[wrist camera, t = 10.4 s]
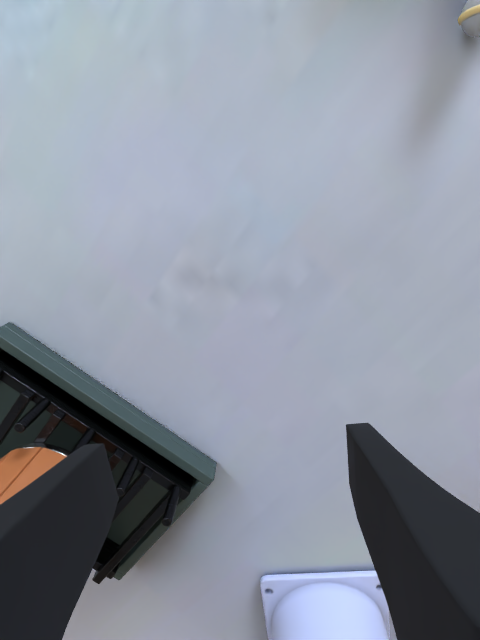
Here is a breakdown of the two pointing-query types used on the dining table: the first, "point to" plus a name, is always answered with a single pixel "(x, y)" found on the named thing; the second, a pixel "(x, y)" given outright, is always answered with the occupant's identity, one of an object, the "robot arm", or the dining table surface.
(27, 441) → the dish rack
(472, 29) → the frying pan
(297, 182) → the dining table surface
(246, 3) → the dining table surface
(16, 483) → the saucepan
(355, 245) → the dining table surface
